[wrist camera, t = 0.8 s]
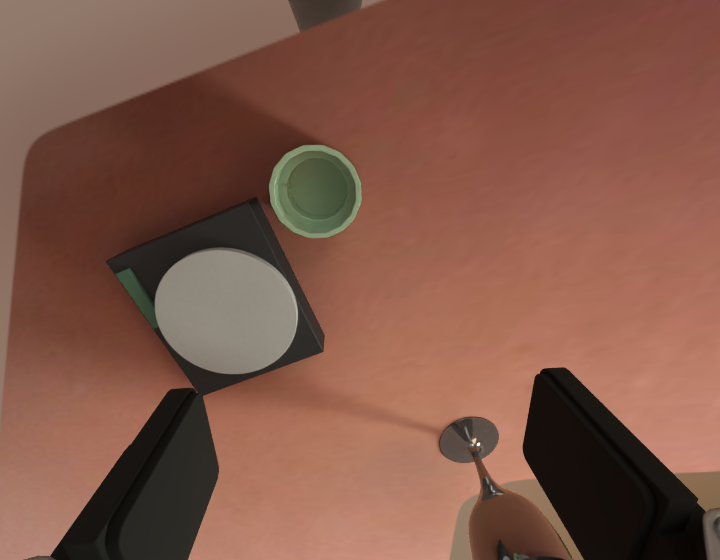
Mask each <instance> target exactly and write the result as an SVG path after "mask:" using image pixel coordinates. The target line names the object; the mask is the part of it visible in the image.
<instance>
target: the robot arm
mask: <svg viewBox="0 0 720 560" xmlns="http://www.w3.org/2000/svg"><path fill="white" fill-rule="evenodd" d="M523 453H524V457H525V459H526V461H527V463H528V465H529V466H530V468H531V470H532V471H533V473H534V475H535V477H536V478H537V480H538V482H539V483H540V485H541V487H542V488H543V490H544V492H545V494H546V495H547V497H548V499H549V500H550V502H551V504H552V506H553V507H554V509H555V510H556V512H557V514H558V516H559V518H560V519H561V521H562V523H563V524H564V526H565V528H566V529H567V531H568V533H569V535H570V536H571V538H572V540H573V541H574V543H575V545H576V547H577V548H578V550H579V552H580V553H581V555H582V557H583V558H584V560H720V508H715V509H710V510H708V511H707V512H705V510H704V509H702V507H700V506H699V504H698V503H697V501H698V498H697V497H696V496H695V495H694V494H693V493H692V492H691V491H690V490H689V489H688V488H687V487H686V486H685V485H684V484H683V483H682V482H681V481H680V480H679V479H678V478H676V476H675V475H674V474H673V473H672V472H671V471H670V470H669V469H668V468H667V467H666V466H665V465H664V464H663V463H662V462H661V461H660V460H659V459H658V458H657V457H656V456H655V455H654V454H653V453H652V452H651V451H650V450H649V449H648V448H647V447H646V446H645V445H644V444H643V443H642V442H641V441H640V440H638V439H637V438H636V437H635V436H634V435H633V434H632V433H631V432H630V431H629V430H628V429H627V428H626V427H625V426H624V425H623V424H622V423H621V422H620V421H619V420H618V419H617V418H616V417H615V416H614V415H613V414H612V413H611V412H610V411H609V410H608V409H607V408H606V407H605V406H604V405H603V404H602V403H601V402H600V401H599V400H598V399H597V398H596V397H595V396H594V395H593V394H592V393H591V392H590V391H589V390H588V389H587V388H586V387H585V386H584V385H583V384H582V383H581V382H580V381H579V380H578V379H577V378H576V377H575V376H574V375H573V374H572V373H571V372H570V371H569V370H568V369H566V368H545V369H542V370H541V372H540V374H537V375H536V376H535V380H534V385H533V391H532V397H531V402H530V408H529V414H528V419H527V425H526V431H525V436H524V442H523ZM218 473H219V465H218V461H217V456H216V452H215V448H214V443H213V439H212V435H211V430H210V426H209V422H208V417H207V413H206V409H205V404H204V400H203V396H202V394H201V393H196V390H195V389H194V388H181V389H171V390H169V391H168V392H167V394H166V395H165V397H164V398H163V400H162V401H161V402H160V404H159V405H158V407H157V408H156V410H155V411H154V412H153V414H152V415H151V417H150V418H149V420H148V421H147V422H146V424H145V425H144V427H143V428H142V430H141V431H140V432H139V434H138V435H137V437H136V438H135V440H134V441H133V442H132V444H131V445H129V446H128V448H127V449H126V450H125V451H124V452H123V454H122V455H121V457H120V458H119V459H118V461H117V462H116V464H115V465H114V466H113V468H112V469H111V471H110V472H109V474H108V475H107V476H106V478H105V479H104V481H103V482H102V483H101V485H100V486H99V488H98V489H97V491H96V492H95V493H94V495H93V496H92V498H91V499H90V500H89V502H88V503H87V505H86V506H85V507H84V509H83V510H82V512H81V513H80V515H79V516H78V517H77V519H76V520H75V522H74V523H73V524H72V526H71V527H70V529H69V530H68V532H67V533H66V534H65V536H64V537H63V539H62V540H61V541H60V543H59V544H58V546H57V547H56V548H55V550H54V551H53V553H52V554H51V556H36V557H32V558H28V559H25V560H188V558H189V555H190V552H191V549H192V547H193V544H194V541H195V539H196V536H197V533H198V530H199V528H200V525H201V522H202V520H203V517H204V514H205V512H206V509H207V506H208V503H209V501H210V498H211V495H212V493H213V490H214V487H215V484H216V482H217V479H218Z"/></svg>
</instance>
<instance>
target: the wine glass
mask: <svg viewBox="0 0 720 560" xmlns="http://www.w3.org/2000/svg"><path fill="white" fill-rule="evenodd" d="M498 439H499V434H498V430H497V428H496V426H495V425H494V424H493V423H492V422H490V421H489V420H487V419H484V418H479V417H469V418H464V419H460V420H458V421H456V422H454V423H452V424H451V425H450V426H448V427H447V428H446V429H445V431H444V432H443V434H442V436H441V438H440V449H441V451H442V453H443V454H444V455H445V456H446V457H447V458H448V459H450V460H452V461H455V462H459V463H470V462H475V465H476V468H477V471H478V475H479V479H480V484H481V488H480V494H479V497H478V499H477V501H476V503H475V505H474V508H473V510H472V512H471V515H470V519H469V542H470V549H471V555H472V560H573V559H572V556H571V554H570V553H569V551H568V549H567V548H566V546H565V544H564V542H563V541H562V539H561V537H560V536H559V534H558V533H557V532H556V530H555V529H554V527H553V526H552V525H551V523H550V522H549V521H548V519H547V518H546V517H545V516H544V515H543V514H542V512H541V511H540V510H539V509H538V508H537V507H536V506H535V505H534V504H533V503H532V502H531V501H530V500H528V499H527V498H525V497H523V496H522V495H520V494H517V493H514V492H512V491H510V490H507V489H505V488H503V487H501V486H500V485H498V484H497V483H496V482H495V481H494V480H493V479H492V478H491V476H490V475H489V473H488V471H487V470H486V468H485V466H484V464H483V463H482V461H481V459H483V458H484V457H486V456H487V455H489V454H490V453H491V452H492V451H493V450H494V448H495V447H496V445H497V443H498Z"/></svg>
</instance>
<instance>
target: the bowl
mask: <svg viewBox="0 0 720 560" xmlns="http://www.w3.org/2000/svg"><path fill="white" fill-rule="evenodd" d="M269 193H270V202H271V206H272V207H273V209H274V211H275V213H276V215H277V217H278V219H279V220H280V221H281V222H282V223H283V224H284V225H285V226H286V227H288V228H289V229H290V230H291V231H292V232H294V233H296V234H299V235H302V236H305V237H308V238H327V237H330V236H332V235H334V234H337V233H339V232H341V231H343V230H344V229H345V228H346V227H347V226H348V225H349V224H350V223H351V222H352V221H353V220H354V218H355V216H356V214H357V211H358V209H359V206H360V204H361V182H360V180H359V178H358V175H357V173H356V170H355V168H354V166H353V164H352V162H351V161H350V160H349V159H348V158H347V157H346V156H345V155H344V154H343V153H342V152H341V151H339V150H337V149H335V148H332V147H330V146H328V145H324V144H311V145H303V146H300V147H298V148H296V149H294V150H292V151H290V152H288V153H286V154H285V155H284V156H283V157H282V159H281V160H280V161H279V162H278V163H277V165H276V166H275V167H274V169H273V172H272V176H271V179H270V183H269Z"/></svg>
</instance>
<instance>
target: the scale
mask: <svg viewBox="0 0 720 560" xmlns="http://www.w3.org/2000/svg"><path fill="white" fill-rule="evenodd" d="M106 262H107V264H108V265H109V267H110V268H111V269H112V271H113V272H114V274H115V275H116V277H117V278H118V279H119V281H120V282H121V284H122V285H123V287H124V288H125V289H126V291H127V292H128V294H129V295H130V297H131V298H132V299H133V301H134V302H135V304H136V305H137V306H138V308H139V309H140V311H141V312H142V314H143V315H144V316H145V318H146V319H147V321H148V322H149V324H150V325H151V326H152V328H153V329H154V331H155V332H156V334H157V335H158V336H159V338H160V339H161V341H162V342H163V343H164V345H165V346H166V348H167V349H168V351H169V352H170V353H171V355H172V356H173V358H174V359H175V361H176V362H177V363H178V365H179V366H180V368H181V369H182V370H183V372H184V373H185V375H186V376H187V378H188V379H189V380H190V382H191V383H192V385H193V386H194V388H195V389H196V390H197V392H198V393H201V394H202V396H203V395H206V394H209V393H211V392H214V391H217V390H220V389H222V388H225V387H228V386H231V385H233V384H236V383H239V382H242V381H244V380H247V379H250V378H253V377H255V376H258V375H261V374H264V373H266V372H269V371H272V370H275V369H277V368H280V367H283V366H286V365H288V364H291V363H294V362H297V361H299V360H302V359H305V358H308V357H310V356H313V355H316V354H319V353H321V352H323V350H324V337H325V335H324V333H323V331H322V329H321V327H320V325H319V323H318V321H317V319H316V317H315V315H314V313H313V311H312V309H311V307H310V305H309V303H308V301H307V299H306V297H305V295H304V293H303V291H302V289H301V287H300V285H299V283H298V280H297V278H296V276H295V274H294V272H293V270H292V268H291V266H290V264H289V262H288V260H287V258H286V256H285V254H284V252H283V250H282V248H281V246H280V244H279V242H278V240H277V238H276V236H275V234H274V232H273V230H272V228H271V226H270V224H269V222H268V220H267V218H266V216H265V214H264V212H263V209H262V207H261V205H260V203H259V201H258V199H257V198H256V197H255V198H252V199H250V200H247V201H245V202H243V203H240V204H238V205H235V206H233V207H230V208H228V209H226V210H223V211H221V212H218V213H216V214H214V215H211V216H209V217H206V218H204V219H201V220H199V221H197V222H194V223H192V224H189V225H187V226H184V227H182V228H180V229H177V230H175V231H172V232H170V233H168V234H165V235H163V236H160V237H158V238H155V239H153V240H151V241H148V242H146V243H143V244H141V245H138V246H136V247H134V248H131V249H129V250H126V251H124V252H122V253H120V254H119V255H117V256H115V257H113V258H111V259H109V260H107V261H106Z"/></svg>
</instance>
